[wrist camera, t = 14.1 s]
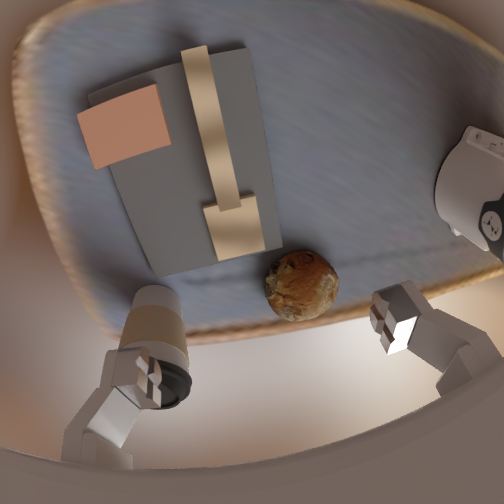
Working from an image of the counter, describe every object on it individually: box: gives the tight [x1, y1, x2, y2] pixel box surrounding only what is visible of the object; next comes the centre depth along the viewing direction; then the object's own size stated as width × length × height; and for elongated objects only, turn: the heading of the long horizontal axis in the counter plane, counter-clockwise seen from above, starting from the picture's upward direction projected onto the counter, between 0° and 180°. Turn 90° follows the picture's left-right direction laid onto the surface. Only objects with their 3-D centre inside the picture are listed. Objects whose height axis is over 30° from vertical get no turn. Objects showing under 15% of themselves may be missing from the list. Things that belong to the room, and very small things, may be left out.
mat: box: [87, 48, 283, 278], centre depth 29 cm, size 16×23×1 cm
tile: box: [77, 84, 173, 170], centre depth 23 cm, size 2×6×8 cm
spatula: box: [181, 45, 265, 261], centre depth 27 cm, size 23×6×2 cm, turn 10°
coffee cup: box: [118, 285, 192, 410], centre depth 32 cm, size 9×9×15 cm
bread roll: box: [265, 251, 339, 321], centre depth 38 cm, size 10×10×8 cm
